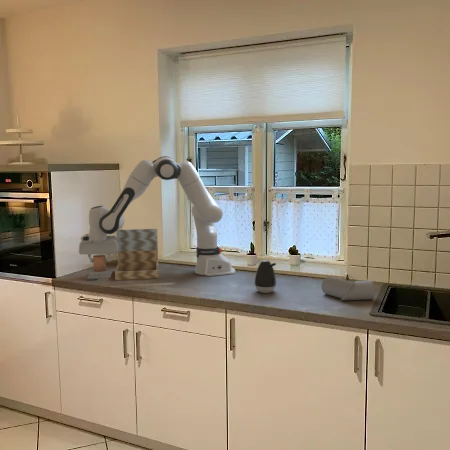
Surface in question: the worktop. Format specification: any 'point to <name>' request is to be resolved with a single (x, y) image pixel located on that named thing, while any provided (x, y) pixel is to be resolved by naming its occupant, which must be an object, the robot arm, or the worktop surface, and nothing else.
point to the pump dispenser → (265, 277)
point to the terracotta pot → (99, 263)
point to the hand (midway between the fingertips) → (99, 261)
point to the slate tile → (99, 275)
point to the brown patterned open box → (137, 254)
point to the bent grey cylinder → (348, 289)
